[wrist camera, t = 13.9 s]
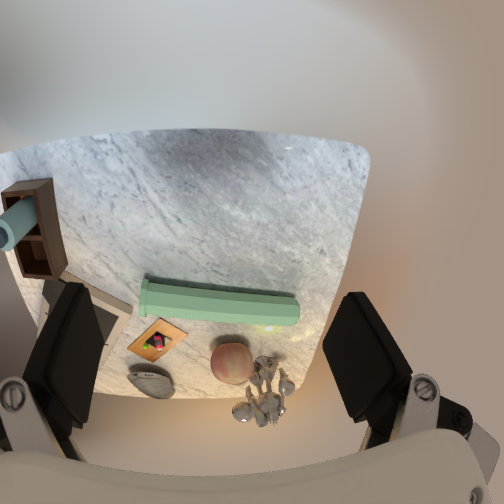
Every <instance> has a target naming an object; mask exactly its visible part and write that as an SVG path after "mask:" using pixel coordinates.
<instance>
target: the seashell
mask: <svg viewBox="0 0 504 504" xmlns="http://www.w3.org/2000/svg"><path fill="white" fill-rule="evenodd" d="M127 378H128V380H129V381H130V382H131V383H132V384H133V385H134V386H135V387H136V388H137V389H138V390H140V391H141V392H142V393H144V394H146V395H148V396H150V397H152V398H157V399H168V398H170V397H172V396H173V395H174V393H175V389H174V388H173V387H172V385H171V381H170V379H169V378H168V377H166V376H163V375H160V374H156V373H152V372H135V373H132V374H129V375H128V376H127Z"/></svg>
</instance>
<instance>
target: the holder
mask: <svg viewBox="0 0 504 504" xmlns="http://www.w3.org/2000/svg"><path fill="white" fill-rule="evenodd" d="M26 195H34V202H35V207H36V213H37V218H38V223H37V224H36V225H35V226H34V227H33V228H32V229H31V230H30V231H29V232H28V233H27V234H26V235H25V236H24V237H23V238H22V239H21V240H20V241H19V242H18V243H17V244H16V245H15V246H14V251H15V255H16V258H17V261H18V264H19V267H20V270H21V273H22V276H23V278H33V279H45V280H58V279H59V278H60V276H61V274H62V273H63V271H64V270H65V268H66V266H67V265H68V262H67V258H66V254H65V249H64V245H63V241H62V236H61V231H60V226H59V221H58V215H57V209H56V203H55V196H54V188H53V180H52V178H49V179H39V180H30V181H21V182H16V183H15V184H13V185H11V186H10V187H8V188H7V189H5V190H4V191H2V192H1V197H2V203H3V208H4V212H5V211H7V210H8V209H9V208H10V207H12V206H13V205H14V204H15V203H17V202H18V201H19V200H21V199H22V198H23V197H25V196H26Z"/></svg>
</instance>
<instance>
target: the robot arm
mask: <svg viewBox="0 0 504 504" xmlns="http://www.w3.org/2000/svg"><path fill="white" fill-rule="evenodd" d="M322 345H323V351H324V353H325V356H326V358H327V361H328V363H329V366H330V368H331V371H332V373H333V376H334V378H335V381H336V384H337V386H338V389H339V391H340V394H341V397H342V399H343V401H344V405H345V407H346V410H347V412H348V415H349V416H350V417H351V418H353V420H354V423H358V422H362V421H365V420H367V421H368V424H369V425H368V428H367V431H366V434H365V437H364V439H363V441H362V444H361V447H360V449H359V451H358V452H357V453H354V454H351V455H348V456H344V457H340V458H337V459H333V460H329V461H325V462H321V463H317V464H312V465H307V466H302V467H297V468H292V469H286V470H279V471H272V472H265V473H255V474H246V475H231V476H175V475H174V476H173V475H159V474H150V473H140V472H133V471H126V470H120V469H114V468H109V467H103V466H98V465H93V464H89V463H87V462H86V460H85V458H84V457H83V455H82V454H81V452H80V450H79V449H78V447H77V445H76V444H75V442H74V440H73V439H72V437H71V431H72V427H75V428H79V429H82V428H83V423H86V422H87V420H88V416H89V410H90V404H91V399H92V394H93V389H94V384H95V380H96V375H97V371H98V367H99V363H100V359H101V355H102V351H103V347H104V338H103V335H102V332H101V329H100V326H99V323H98V319H97V316H96V313H95V310H94V306H93V303H92V299H91V296H90V292H89V289H88V288H87V287H85V286H84V284H83V283H80V282H70V281H69V282H67V284H66V285H65V287H64V289H63V291H62V293H61V294H60V296H59V298H58V300H57V302H56V304H55V306H54V308H53V310H52V312H51V314H50V316H49V317H48V318H47V320H46V321H45V323H44V326H43V328H42V330H41V332H40V334H39V337H38V339H37V341H36V344H35V346H34V348H33V351H32V353H31V356H30V358H29V361H28V363H27V366H26V369H25V371H24V374H23V377H22V378H19V377H17V376H10V377H7V378H5V379H4V380H2V382H1V383H0V504H492V501H491V497H490V494H489V491H488V487H487V485H488V483H489V481H490V478H491V476H492V473H493V471H494V468H495V466H496V463H497V460H498V457H499V453H500V447H499V444H498V442H497V441H496V440H495V439H494V438H493V437H491V436H490V435H489V434H488V433H487V432H486V431H485V430H484V429H482V428H481V427H480V426H479V425H478V424H477V423H476V422H474V423H473V419H472V415H471V413H470V412H469V410H468V409H467V408H465V407H464V406H461V405H459V404H457V403H455V402H453V401H451V400H449V399H447V398H444V397H443V396H440V389H439V386H438V384H437V383H436V381H435V380H434V379H433V378H432V377H430V376H429V375H426V374H417V375H415V376H414V377H413V378H412V376H411V374H412V373H413V371H412V369H411V367H410V366H409V364H408V362H407V360H406V359H405V357H404V355H403V354H402V352H401V350H400V348H399V347H398V345H397V343H396V342H395V340H394V338H393V337H392V335H391V333H390V332H389V330H388V329H387V327H386V325H385V324H384V322H383V321H382V319H381V317H380V316H379V314H378V313H377V311H376V310H375V308H374V307H373V305H372V303H371V302H370V300H369V299H368V297H367V296H366V294H365V293H364V292H349V293H348V294H347V296H344V298H343V300H342V302H341V304H340V307H339V309H338V311H337V313H336V315H335V318H334V320H333V322H332V324H331V326H330V328H329V330H328V332H327V334H326V336H325V338H324V340H323V344H322Z"/></svg>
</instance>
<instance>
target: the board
mask: <svg viewBox="0 0 504 504" xmlns="http://www.w3.org/2000/svg"><path fill="white" fill-rule="evenodd" d="M188 335H189V334H187V333H186V332H184V331H182V330H180V329H179V328H177V327H175V326H173V325H172V324H170V323H168V322H167V321H165V320H163V319H162V318H159V319H158V320H157V321H156V322H155V323H154V324H153V325H152V326H151V327H150V328H148V329H147V330H146V331H145V332H144V333H143V334H142V335H141V336H140V337H139V338H138V339H137V340H136V341H134V342H133V343H132V344H131V345H130V346H129V347H128V348H127V349H128V350H130V351H132V352H133V353H135V354H137V355H139V356H141V357H143V358H145V359H147V360H149V361H151V362H155V361H156V360H157V359H158V358H160V357H161V356H162V355H164V354H165V353H166V352H167V351H169V350H170V349H171V348H173V347H174V346H175V345H176V344H178V343H179V342H180V341H182V340H183V339H184V338H185V337H187V336H188Z"/></svg>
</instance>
